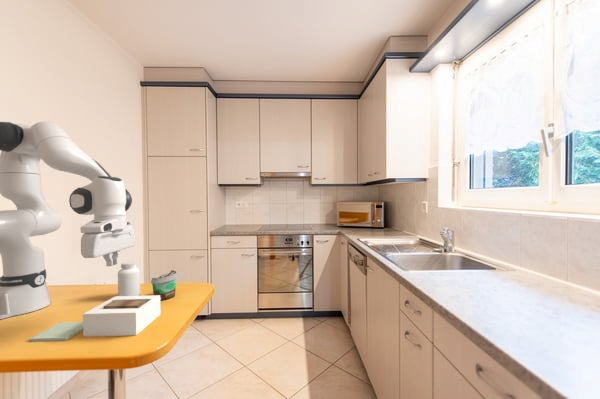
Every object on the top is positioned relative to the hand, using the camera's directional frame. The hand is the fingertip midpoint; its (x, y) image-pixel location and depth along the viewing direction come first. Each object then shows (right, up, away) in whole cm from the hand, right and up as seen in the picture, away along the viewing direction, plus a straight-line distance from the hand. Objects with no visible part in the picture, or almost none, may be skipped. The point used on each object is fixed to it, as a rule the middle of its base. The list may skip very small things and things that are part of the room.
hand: (112, 265), depth 85 cm
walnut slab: (+4, -16, 0) cm, 16 cm away
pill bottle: (-11, -20, +25) cm, 34 cm away
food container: (+7, -20, +23) cm, 31 cm away
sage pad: (-13, -20, -4) cm, 24 cm away
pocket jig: (+4, -20, 0) cm, 20 cm away
